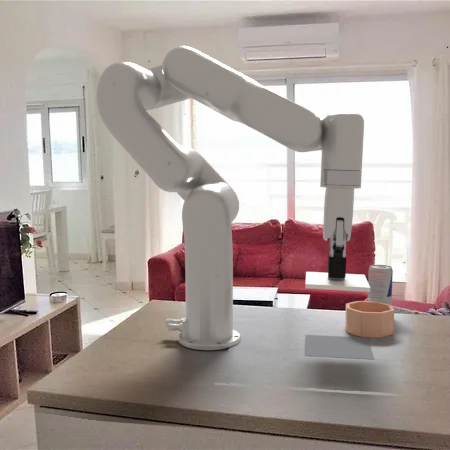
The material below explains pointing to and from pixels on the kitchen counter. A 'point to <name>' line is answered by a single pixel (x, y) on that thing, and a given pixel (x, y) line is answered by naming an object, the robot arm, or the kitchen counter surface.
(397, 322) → the kitchen counter surface
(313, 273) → the lid
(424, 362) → the kitchen counter surface
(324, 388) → the kitchen counter surface
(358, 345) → the mat
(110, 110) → the robot arm
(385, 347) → the kitchen counter surface
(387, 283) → the energy drink
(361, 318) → the bowl
